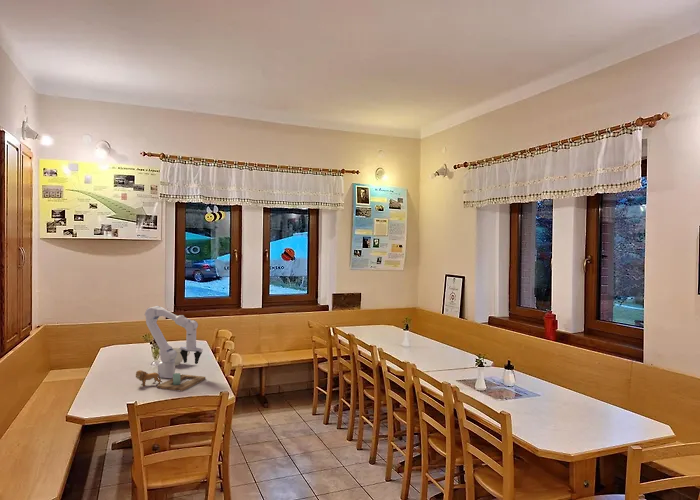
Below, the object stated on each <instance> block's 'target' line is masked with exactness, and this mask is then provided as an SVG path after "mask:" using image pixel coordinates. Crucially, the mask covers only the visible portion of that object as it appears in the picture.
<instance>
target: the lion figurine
mask: <svg viewBox="0 0 700 500" xmlns="http://www.w3.org/2000/svg"><path fill="white" fill-rule="evenodd" d="M135 378H136V379H137V380H139V381H141V382H142V383H141V386H142V387H145V386H146V382H147V381H150V380H152V379H154V381H153V382H152V384H156V382H158V383H157V385H159V384H161V383H163V381H162V380H161V379H162V378H161V377H160V376H159V374H158V372H151V373H148V372H147V371H143V370H140V369H138V370H137V371H136V372H135Z"/></svg>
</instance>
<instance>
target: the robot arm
mask: <svg viewBox="0 0 700 500" xmlns="http://www.w3.org/2000/svg"><path fill="white" fill-rule="evenodd" d="M144 316H145V325H146V326H147V328H148V331H149V332H150V334H151V336H152V337H153V340H154V341H155V342H156V343H155V344H156V345H157V346H158V350H159V357H160V361H159V363H158V364H157V373H158V374H159V376H160V379H173V374H175V373H176V366H175V358H176V357H177V352H176V351H175V350H174V349H173V348H174V347H173V346H171V345H170V344H168V341H167V340H166V338H165V336H164V334H163V332H162V330H161V329H160V327H159V325H158V323H157V322H158V319H159V318H160V317H164V318H167V319H169V320H171V321H174V323H175V325H177V326H180V327H182V328H183V329H185V331H186V337H185V339H186V341H185V342H186V343H185V346H180V347H179V348H180V351H181V352H180V354H181V355H182V357H183V360H182V362H183V364H185V363H187V362H188V356H187V354H188V353H189V352H188V351H190V352H194V353H193V355H194V356H193V357H194V364H195V365H198V364H199V362H200V361H199V360H200V357H201V355H202V353H203V351H204V350H203V348H201V347H200V348H199V347H197V330H198V329H197V328H198V327H199V323H198V321H196V320H195V319H194V320H193V319H192V320H191V318H188V317H185V315H184V314H179V315H178V314H176V313H175V314H174V313H173V312H171V311H170V310H167V309H166V308H165V307H162V306H160V305H154V306H151V307H148V308H147V309H145V312H144Z"/></svg>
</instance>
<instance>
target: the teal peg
mask: <svg viewBox="0 0 700 500" xmlns="http://www.w3.org/2000/svg"><path fill="white" fill-rule="evenodd" d="M180 375H182V374H181V373H179V372H175V374H173V377H172V379H173V385H180V384H181V381H180Z"/></svg>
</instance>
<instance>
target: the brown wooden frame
mask: <svg viewBox="0 0 700 500" xmlns="http://www.w3.org/2000/svg"><path fill="white" fill-rule="evenodd" d="M185 379H188V380H186V381H184V382H182V381H183V380H185ZM189 379H190V380H189ZM205 380H206V376H201V375H200V376H199V375H192V374H181V375H180V382H182V383H180V385H173V378H170V379H168V380H166V381H164V382H161V383H160V384H159V385H158V384H157V385H156V388H157V389H160V388H161V390H162V389H163V390H170V391H177V390H180V391H179V392H183V391H185V390H187V389H190V388H191V387H193V386H195V385H197V384H199V383H201V382H203V381H205Z"/></svg>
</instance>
